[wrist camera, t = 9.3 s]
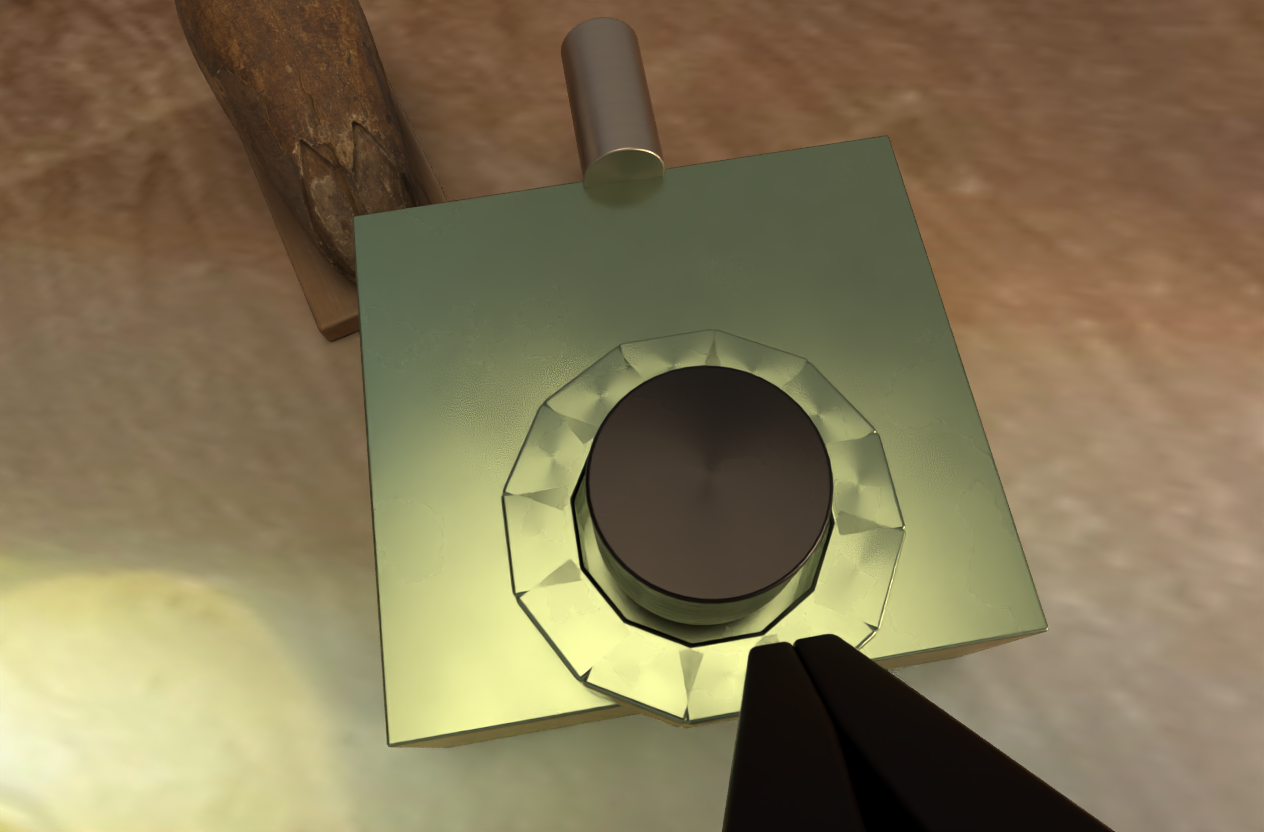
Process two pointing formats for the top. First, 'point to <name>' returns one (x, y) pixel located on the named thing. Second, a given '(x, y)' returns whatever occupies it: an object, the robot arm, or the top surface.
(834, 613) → the push button base
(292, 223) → the figurine
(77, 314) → the top surface
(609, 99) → the spout
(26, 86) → the top surface
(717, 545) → the black short cylinder
